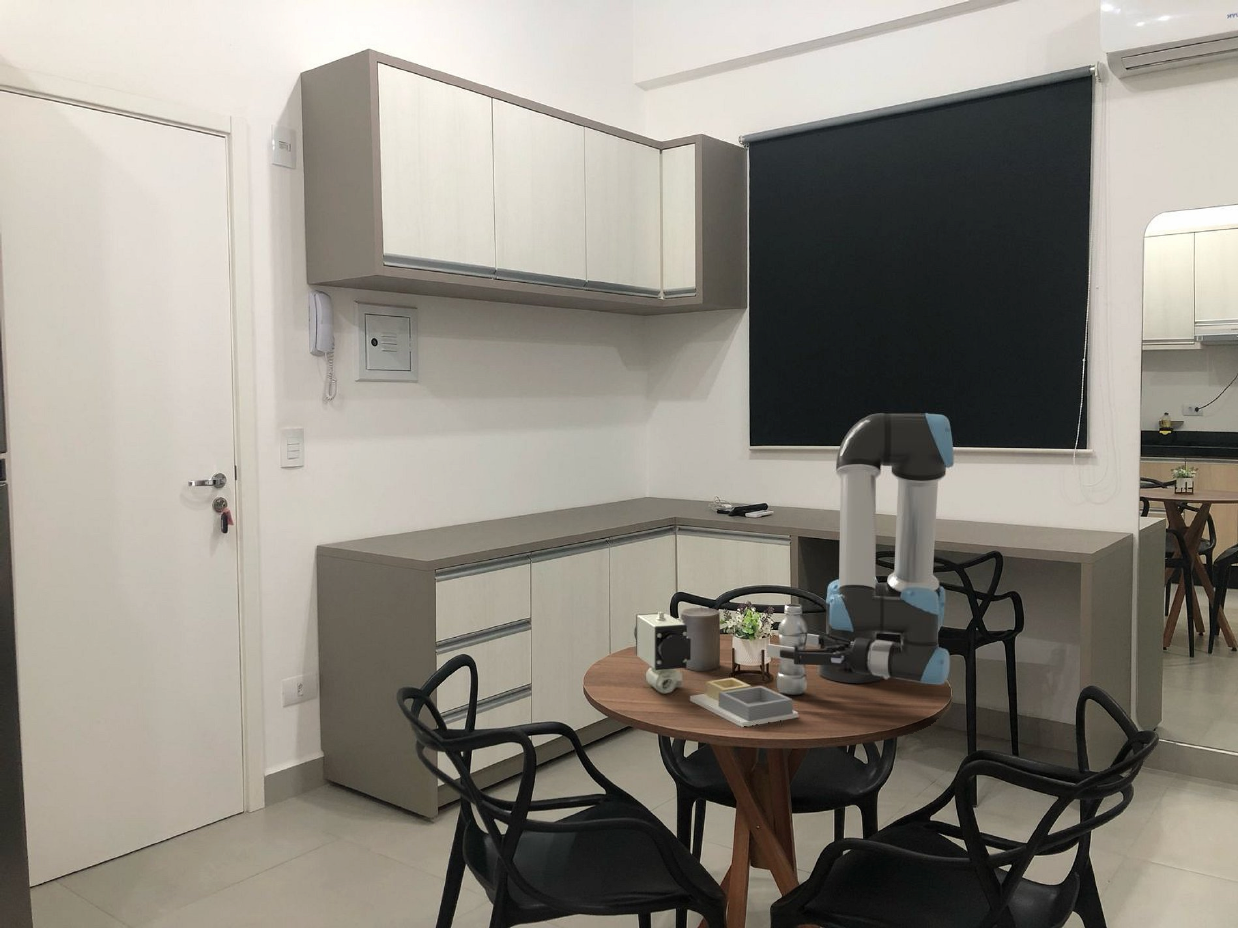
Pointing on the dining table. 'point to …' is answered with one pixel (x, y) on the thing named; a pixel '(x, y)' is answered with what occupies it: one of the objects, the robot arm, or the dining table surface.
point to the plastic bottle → (792, 635)
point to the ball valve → (662, 649)
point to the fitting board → (745, 702)
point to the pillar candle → (703, 638)
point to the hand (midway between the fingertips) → (779, 643)
